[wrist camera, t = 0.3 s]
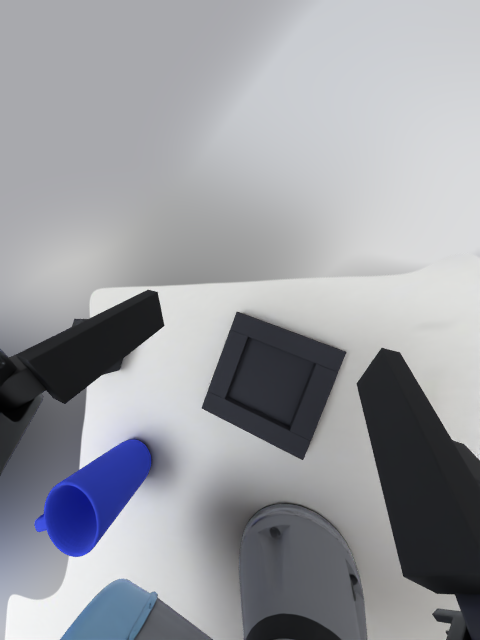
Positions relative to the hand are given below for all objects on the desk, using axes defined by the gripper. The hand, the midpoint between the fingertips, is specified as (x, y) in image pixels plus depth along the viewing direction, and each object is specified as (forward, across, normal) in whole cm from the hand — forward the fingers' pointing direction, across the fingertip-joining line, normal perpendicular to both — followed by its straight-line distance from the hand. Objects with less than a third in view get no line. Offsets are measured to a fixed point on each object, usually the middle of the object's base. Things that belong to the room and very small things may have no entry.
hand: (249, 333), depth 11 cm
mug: (-2, +18, +32) cm, 36 cm away
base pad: (+10, -2, +15) cm, 18 cm away
